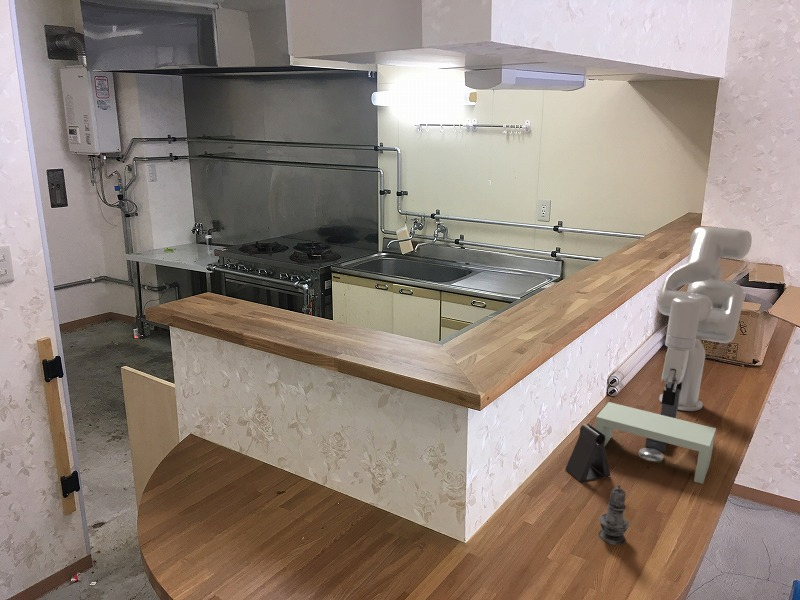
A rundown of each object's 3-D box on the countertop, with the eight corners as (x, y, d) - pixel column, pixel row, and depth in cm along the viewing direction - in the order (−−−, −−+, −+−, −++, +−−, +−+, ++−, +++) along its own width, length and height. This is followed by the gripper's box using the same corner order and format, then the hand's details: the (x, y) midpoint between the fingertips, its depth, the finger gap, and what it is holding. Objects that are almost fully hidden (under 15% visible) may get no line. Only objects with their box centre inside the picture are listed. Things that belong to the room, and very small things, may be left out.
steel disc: (641, 449, 173) (642, 445, 172) (665, 456, 169) (665, 452, 169) (636, 458, 168) (636, 454, 167) (660, 465, 165) (661, 461, 164)
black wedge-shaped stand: (595, 465, 163) (600, 421, 160) (610, 476, 157) (616, 431, 154) (564, 470, 160) (570, 425, 157) (579, 482, 154) (585, 436, 151)
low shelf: (604, 435, 179) (608, 401, 177) (709, 464, 166) (716, 428, 163) (591, 451, 170) (596, 416, 167) (702, 483, 156) (709, 446, 153)
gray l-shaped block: (658, 424, 188) (664, 386, 185) (676, 429, 185) (682, 390, 182) (645, 446, 174) (651, 405, 171) (664, 451, 171) (671, 410, 168)
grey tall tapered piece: (623, 549, 130) (630, 496, 126) (593, 538, 132) (600, 486, 129) (629, 534, 134) (637, 483, 131) (601, 525, 137) (608, 474, 134)
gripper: (671, 332, 188) (663, 387, 192) (659, 346, 174) (650, 405, 178) (699, 337, 184) (690, 393, 188) (689, 351, 170) (679, 412, 174)
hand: (671, 399), depth 183 cm, fingers open, 9 cm apart
